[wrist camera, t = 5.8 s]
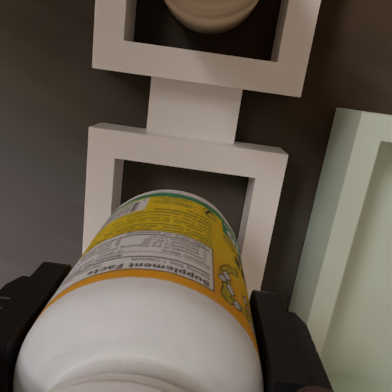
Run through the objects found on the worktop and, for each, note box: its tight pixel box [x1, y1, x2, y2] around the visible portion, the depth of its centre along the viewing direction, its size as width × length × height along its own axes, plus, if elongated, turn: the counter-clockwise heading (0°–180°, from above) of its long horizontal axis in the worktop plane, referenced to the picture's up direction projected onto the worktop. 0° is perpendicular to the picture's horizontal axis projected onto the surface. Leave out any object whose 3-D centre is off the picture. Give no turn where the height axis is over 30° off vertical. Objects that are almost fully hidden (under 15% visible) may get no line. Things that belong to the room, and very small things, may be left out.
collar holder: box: [82, 0, 321, 301], centre depth 18 cm, size 31×9×2 cm, turn 172°
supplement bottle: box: [13, 190, 264, 392], centre depth 10 cm, size 5×5×10 cm
